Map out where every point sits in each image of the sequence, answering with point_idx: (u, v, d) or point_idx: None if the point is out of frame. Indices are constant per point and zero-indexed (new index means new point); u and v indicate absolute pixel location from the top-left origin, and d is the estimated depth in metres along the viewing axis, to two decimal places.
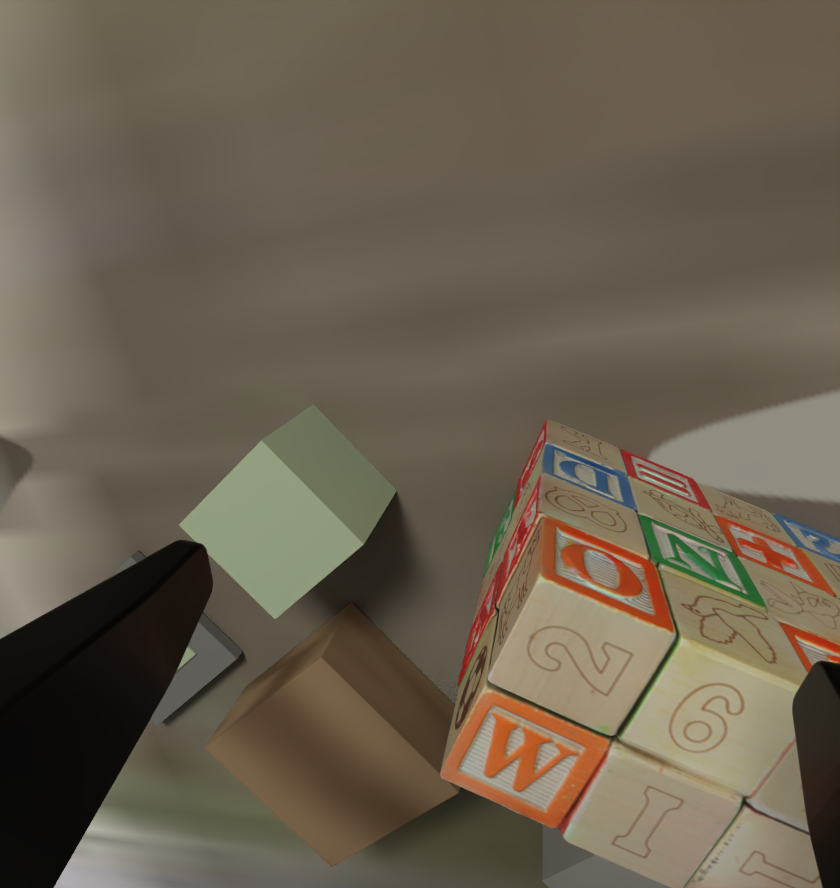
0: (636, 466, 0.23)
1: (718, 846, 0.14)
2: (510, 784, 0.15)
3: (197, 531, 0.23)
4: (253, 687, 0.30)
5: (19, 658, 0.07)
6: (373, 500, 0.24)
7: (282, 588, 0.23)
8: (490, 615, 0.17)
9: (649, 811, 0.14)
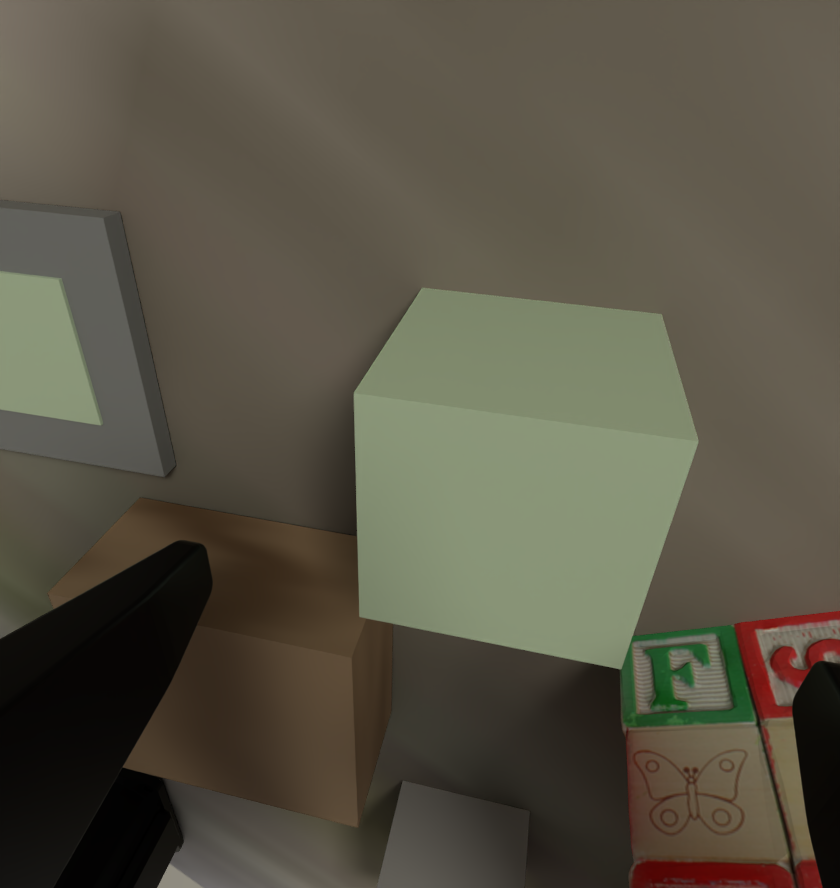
0: None
1: None
2: None
3: (378, 433, 0.10)
4: (162, 526, 0.18)
5: (19, 658, 0.07)
6: None
7: (422, 604, 0.12)
8: None
9: None
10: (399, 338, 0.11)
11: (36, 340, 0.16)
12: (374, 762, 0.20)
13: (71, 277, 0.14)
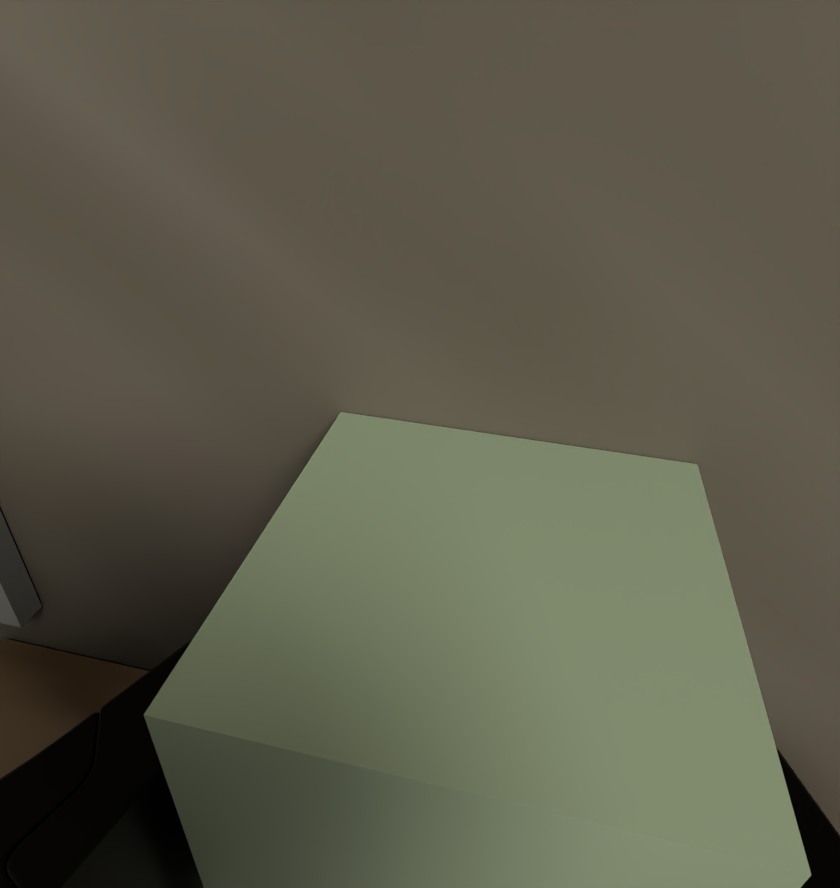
0: None
1: None
2: None
3: (201, 769, 0.05)
4: (23, 687, 0.14)
5: None
6: None
7: None
8: None
9: None
10: (273, 541, 0.07)
11: None
12: None
13: None
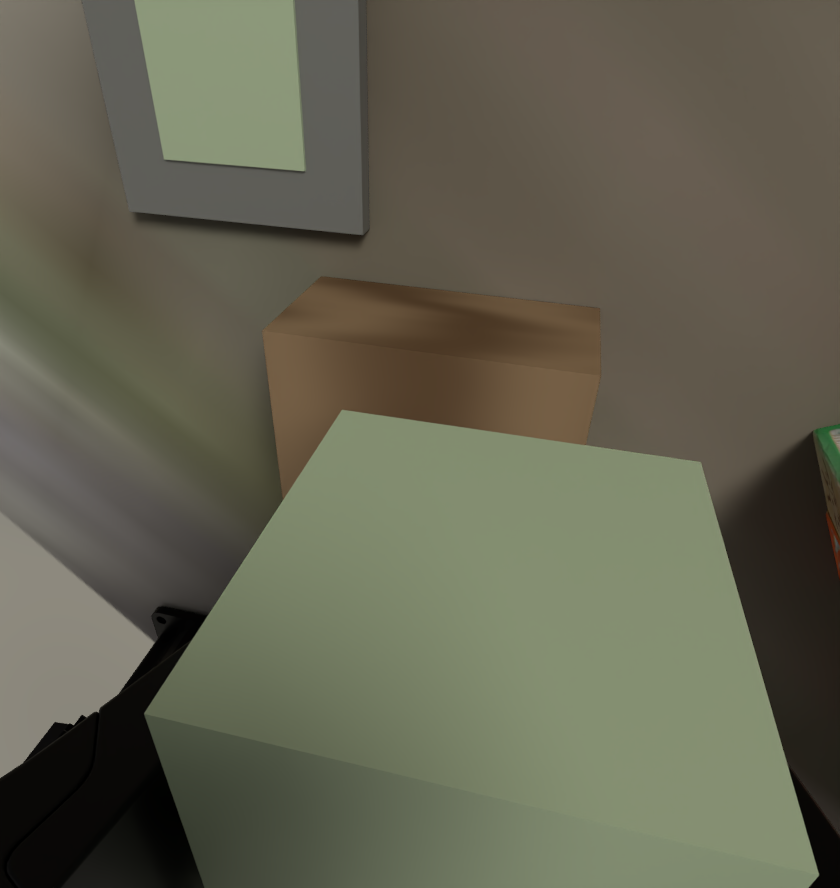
0: None
1: None
2: None
3: (202, 770, 0.05)
4: (354, 293, 0.17)
5: None
6: None
7: None
8: None
9: None
10: (274, 539, 0.07)
11: (251, 63, 0.15)
12: None
13: None
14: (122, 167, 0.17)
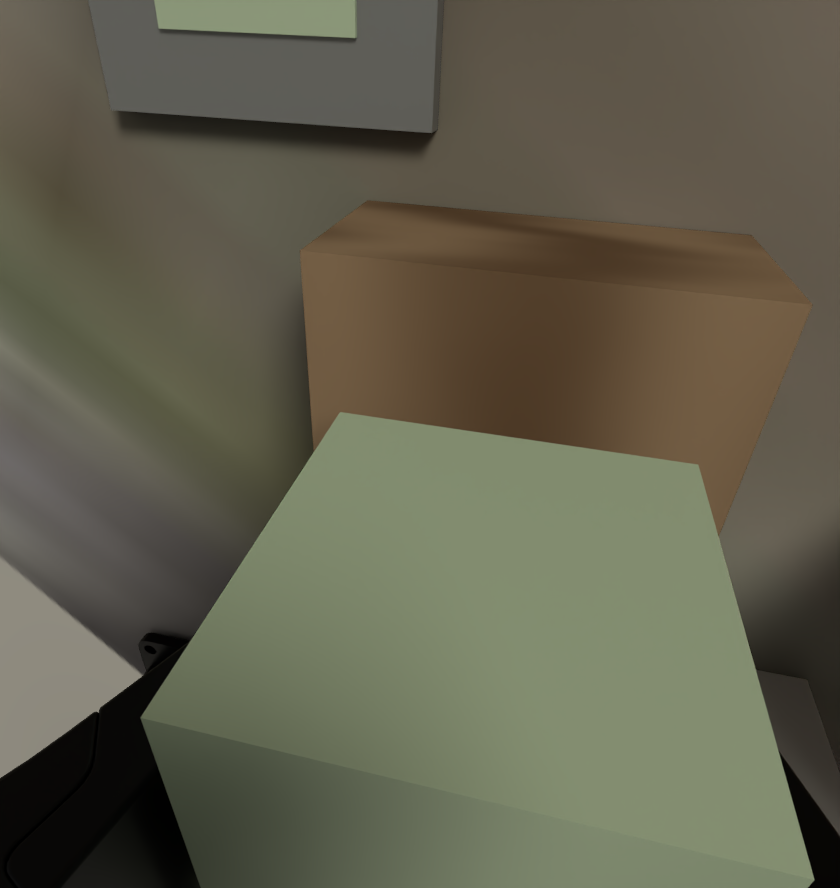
0: None
1: None
2: None
3: (199, 773, 0.05)
4: (417, 216, 0.13)
5: None
6: None
7: None
8: None
9: None
10: (271, 542, 0.07)
11: None
12: None
13: None
14: (101, 45, 0.13)
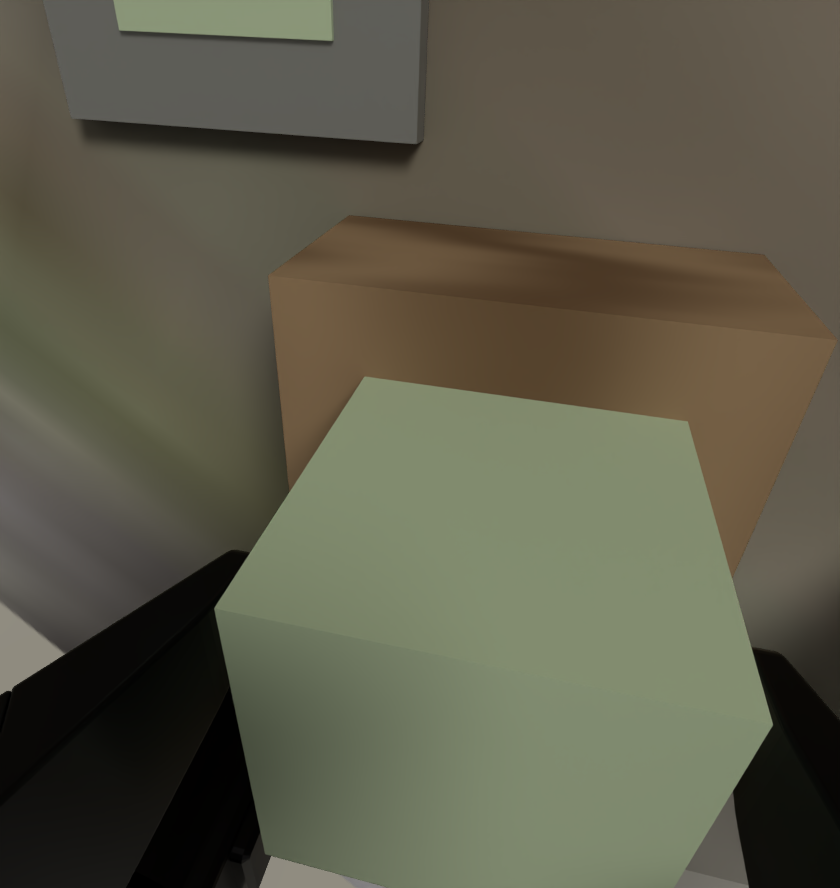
0: None
1: None
2: None
3: (259, 660, 0.06)
4: (401, 234, 0.12)
5: (87, 674, 0.07)
6: None
7: (349, 853, 0.08)
8: None
9: None
10: (312, 480, 0.08)
11: None
12: None
13: None
14: (58, 48, 0.12)
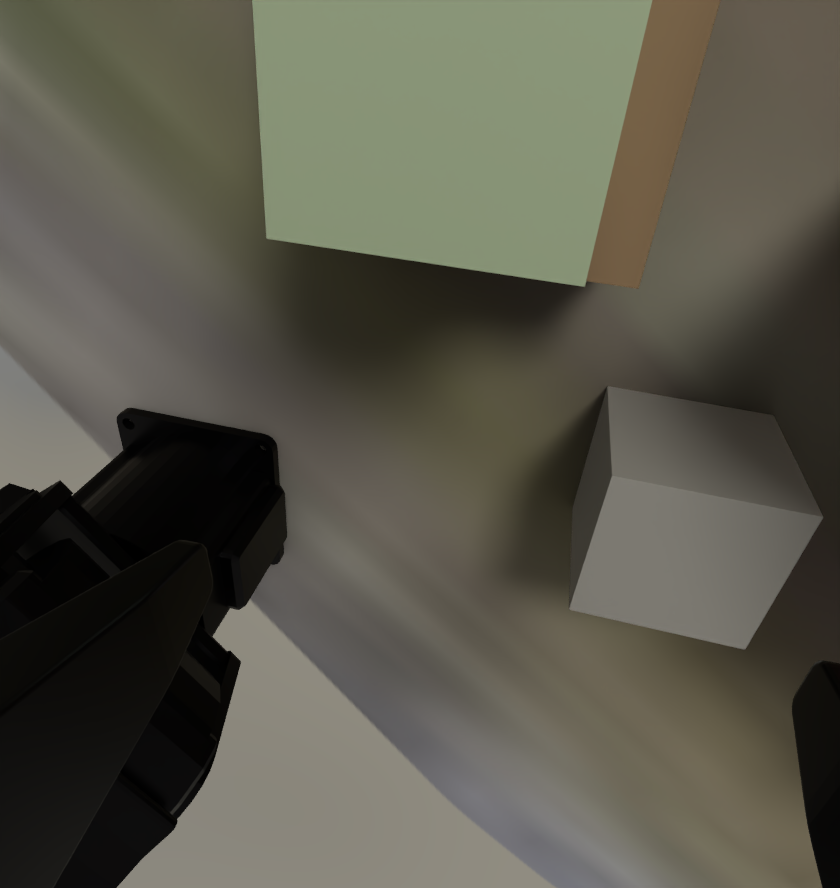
0: None
1: None
2: None
3: None
4: None
5: (19, 658, 0.07)
6: None
7: (342, 203, 0.09)
8: None
9: None
10: None
11: None
12: None
13: None
14: None
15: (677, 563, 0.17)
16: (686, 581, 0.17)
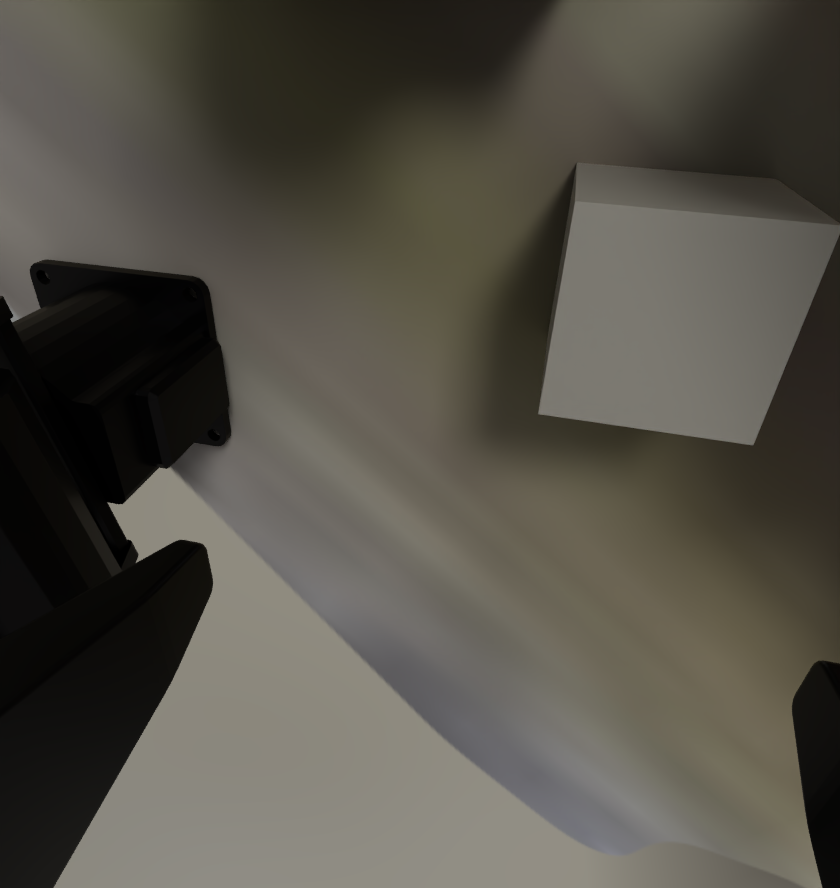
0: None
1: None
2: None
3: None
4: None
5: (19, 658, 0.07)
6: None
7: None
8: None
9: None
10: None
11: None
12: None
13: None
14: None
15: (663, 326, 0.13)
16: (676, 351, 0.14)
